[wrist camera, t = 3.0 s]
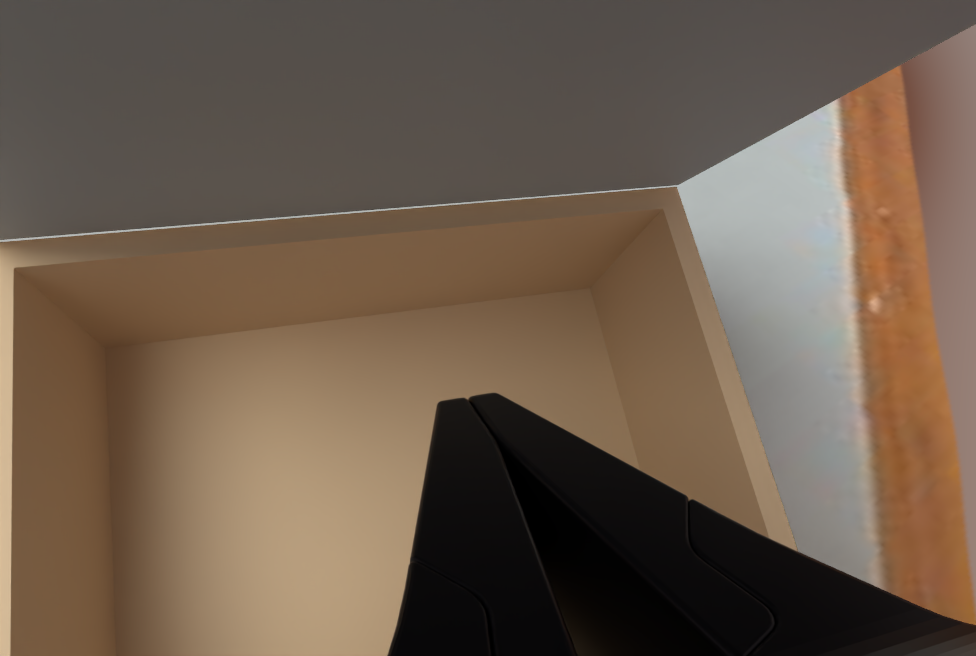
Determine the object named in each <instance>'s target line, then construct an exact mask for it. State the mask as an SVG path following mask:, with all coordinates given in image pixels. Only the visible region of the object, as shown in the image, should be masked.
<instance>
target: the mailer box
mask: <svg viewBox="0 0 976 656" xmlns="http://www.w3.org/2000/svg"><path fill="white" fill-rule="evenodd" d="M492 392H494V393H498V394H500V395H502V396H504V397H506V398H508V399H510V400H511V401H513V402H515V403H517V404H519V405H521V406H522V407H524V408H526V409H528V410H530V411H532V412H534V413H535V414H537V415H539V416H541V417H543V418H545V419H546V420H548V421H550V422H552V423H554V424H556V425H558V426H559V427H561V428H563V429H565V430H567V431H569V432H570V433H572V434H574V435H576V436H578V437H580V438H582V439H583V440H585V441H587V442H589V443H591V444H593V445H594V446H596V447H598V448H600V449H602V450H604V451H605V452H607V453H609V454H611V455H613V456H615V457H617V458H618V459H620V460H622V461H624V462H626V463H628V464H629V465H631V466H633V467H635V468H637V469H639V470H641V471H642V472H644V473H646V474H648V475H650V476H652V477H653V478H655V479H657V480H659V481H661V482H663V483H664V484H666V485H668V486H670V487H672V488H674V489H676V490H677V491H679V492H681V493H683V494H685V495H687V497H688V500H690V499H694V500H696V501H698V502H700V503H702V504H704V505H705V506H707V507H709V508H711V509H713V510H715V511H717V512H718V513H720V514H722V515H724V516H726V517H728V518H730V519H732V520H734V521H736V522H738V523H740V524H742V525H744V526H746V527H747V528H749V529H751V530H753V531H755V532H757V533H759V534H761V535H763V536H766V537H768V538H770V539H772V540H774V541H776V542H778V543H781V544H783V545H785V546H787V547H789V548H791V549H793V550H795V551H798V549H797V546H796V543H795V540H794V537H793V534H792V531H791V528H790V525H789V522H788V519H787V516H786V513H785V510H784V507H783V504H782V501H781V498H780V495H779V493H778V490H777V487H776V484H775V481H774V478H773V475H772V472H771V469H770V466H769V463H768V460H767V457H766V454H765V451H764V448H763V445H762V442H761V439H760V436H759V433H758V430H757V427H756V424H755V421H754V418H753V415H752V412H751V409H750V406H749V403H748V400H747V397H746V394H745V391H744V388H743V385H742V382H741V379H740V376H739V373H738V370H737V367H736V364H735V361H734V358H733V355H732V352H731V349H730V346H729V343H728V340H727V337H726V334H725V331H724V328H723V325H722V322H721V319H720V316H719V313H718V310H717V307H716V304H715V301H714V298H713V295H712V292H711V289H710V286H709V283H708V280H707V277H706V274H705V271H704V268H703V265H702V262H701V259H700V256H699V253H698V250H697V247H696V244H695V241H694V238H693V235H692V232H691V229H690V226H689V223H688V220H687V217H686V214H685V211H684V208H683V205H682V202H681V199H680V196H679V193H678V190H677V187H669V188H657V189H644V190H632V191H620V192H608V193H596V194H583V195H571V196H559V197H547V198H535V199H522V200H510V201H498V202H486V203H474V204H461V205H449V206H437V207H425V208H413V209H400V210H388V211H376V212H364V213H351V214H339V215H327V216H315V217H303V218H290V219H278V220H266V221H254V222H242V223H229V224H217V225H205V226H193V227H181V228H168V229H156V230H144V231H132V232H120V233H107V234H95V235H83V236H71V237H59V238H46V239H34V240H22V241H10V242H0V656H387V655H388V652H389V648H390V645H391V642H392V638H393V635H394V632H395V628H396V625H397V620H398V616H399V611H400V607H401V602H402V598H403V593H404V589H405V583H406V577H407V571H408V566H409V564H410V557H411V551H412V545H413V539H414V534H415V528H416V522H417V516H418V511H419V505H420V499H421V493H422V488H423V482H424V476H425V470H426V465H427V459H428V453H429V447H430V442H431V436H432V430H433V424H434V419H435V413H436V407H437V404H438V402H440V401H443V400H449V399H456V398H466V399H467V400H468V398H469V397H471V396H474V395H480V394H486V393H492Z"/></svg>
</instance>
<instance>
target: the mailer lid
mask: <svg viewBox="0 0 976 656" xmlns="http://www.w3.org/2000/svg"><path fill="white" fill-rule="evenodd" d="M975 24H976V0H0V240H4V239H17V238H29V237H41V236H54V235H66V234H78V233H91V232H103V231H115V230H128V229H140V228H152V227H165V226H177V225H189V224H202V223H214V222H226V221H239V220H251V219H263V218H276V217H288V216H300V215H313V214H325V213H337V212H350V211H362V210H374V209H387V208H399V207H411V206H424V205H436V204H448V203H461V202H473V201H485V200H498V199H510V198H522V197H535V196H547V195H559V194H572V193H584V192H596V191H609V190H621V189H633V188H646V187H658V186H670V185H679V184H681V183H683V182H684V181H686V180H688V179H690V178H692V177H694V176H696V175H697V174H699V173H701V172H703V171H705V170H707V169H709V168H710V167H712V166H714V165H716V164H718V163H720V162H721V161H723V160H725V159H727V158H729V157H731V156H733V155H734V154H736V153H738V152H740V151H742V150H744V149H746V148H747V147H749V146H751V145H753V144H755V143H757V142H758V141H760V140H762V139H764V138H766V137H768V136H770V135H771V134H773V133H775V132H777V131H779V130H781V129H783V128H784V127H786V126H788V125H790V124H792V123H794V122H795V121H797V120H799V119H801V118H803V117H805V116H807V115H808V114H810V113H812V112H814V111H816V110H818V109H820V108H821V107H823V106H825V105H827V104H829V103H831V102H832V101H834V100H836V99H838V98H840V97H842V96H844V95H845V94H847V93H849V92H851V91H853V90H855V89H857V88H858V87H860V86H862V85H864V84H866V83H868V82H869V81H871V80H873V79H875V78H877V77H879V76H881V75H882V74H884V73H886V72H888V71H890V70H892V69H894V68H895V67H897V66H899V65H901V64H903V63H905V62H906V61H908V60H910V59H912V58H913V57H916V56H917V55H919V54H921V53H923V52H925V51H927V50H929V49H931V48H932V47H934V46H936V45H938V44H940V43H942V42H943V41H945V40H947V39H949V38H951V37H952V36H954V35H956V34H958V33H960V32H962V31H964V30H966V29H968V28H969V27H971V26H973V25H975Z"/></svg>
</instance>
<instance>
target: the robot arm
mask: <svg viewBox="0 0 976 656" xmlns="http://www.w3.org/2000/svg"><path fill="white" fill-rule="evenodd" d="M387 656H976V625H973V624H968V623H964V622H961V621H958V620H954V619H951V618H948V617H945V616H942V615H940V614H937V613H935V612H932V611H930V610H927V609H925V608H922V607H920V606H918V605H916V604H913V603H911V602H909V601H907V600H904V599H902V598H900V597H898V596H895V595H893V594H891V593H889V592H887V591H884V590H882V589H880V588H878V587H875V586H873V585H871V584H869V583H866V582H864V581H862V580H860V579H857V578H855V577H853V576H851V575H849V574H846V573H844V572H842V571H840V570H837V569H835V568H833V567H831V566H828V565H826V564H824V563H822V562H820V561H817V560H815V559H813V558H811V557H808V556H806V555H804V554H802V553H800V552H798V551H795V550H793V549H791V548H789V547H787V546H785V545H783V544H781V543H778V542H776V541H774V540H772V539H770V538H768V537H766V536H763V535H761V534H759V533H757V532H755V531H753V530H751V529H749V528H747V527H746V526H744V525H742V524H740V523H738V522H736V521H734V520H732V519H730V518H728V517H726V516H724V515H722V514H720V513H718V512H717V511H715V510H713V509H711V508H709V507H707V506H705V505H704V504H702V503H700V502H698V501H696V500H694V499H690V500H688V497H687V495H685V494H683V493H681V492H679V491H677V490H676V489H674V488H672V487H670V486H668V485H666V484H664V483H663V482H661V481H659V480H657V479H655V478H653V477H652V476H650V475H648V474H646V473H644V472H642V471H641V470H639V469H637V468H635V467H633V466H631V465H629V464H628V463H626V462H624V461H622V460H620V459H618V458H617V457H615V456H613V455H611V454H609V453H607V452H605V451H604V450H602V449H600V448H598V447H596V446H594V445H593V444H591V443H589V442H587V441H585V440H583V439H582V438H580V437H578V436H576V435H574V434H572V433H570V432H569V431H567V430H565V429H563V428H561V427H559V426H558V425H556V424H554V423H552V422H550V421H548V420H546V419H545V418H543V417H541V416H539V415H537V414H535V413H534V412H532V411H530V410H528V409H526V408H524V407H522V406H521V405H519V404H517V403H515V402H513V401H511V400H510V399H508V398H506V397H504V396H502V395H500V394H498V393H494V392H492V393H486V394H480V395H474V396H471V397H469V398H468V400H467V399H466V398H456V399H449V400H443V401H440V402H438V404H437V407H436V413H435V419H434V424H433V430H432V436H431V442H430V447H429V453H428V459H427V465H426V470H425V476H424V482H423V488H422V493H421V499H420V505H419V511H418V516H417V522H416V528H415V534H414V539H413V545H412V551H411V557H410V564H409V566H408V571H407V577H406V583H405V589H404V593H403V598H402V602H401V607H400V611H399V616H398V620H397V625H396V628H395V632H394V635H393V638H392V642H391V645H390V648H389V652H388V655H387Z"/></svg>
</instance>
